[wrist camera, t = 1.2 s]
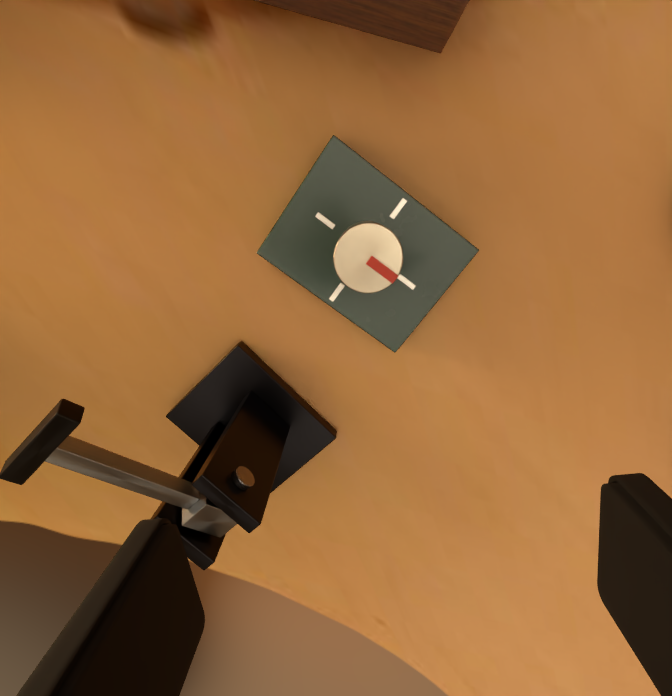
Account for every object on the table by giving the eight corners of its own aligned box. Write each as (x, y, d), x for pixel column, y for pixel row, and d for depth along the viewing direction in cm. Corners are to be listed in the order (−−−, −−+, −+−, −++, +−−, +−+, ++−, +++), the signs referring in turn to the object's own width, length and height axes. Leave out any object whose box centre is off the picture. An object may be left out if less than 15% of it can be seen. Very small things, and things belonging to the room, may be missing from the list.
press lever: (9, 450, 22) (-9, 490, 20) (65, 388, 21) (52, 423, 19) (205, 516, 29) (205, 550, 27) (256, 472, 27) (260, 504, 25)
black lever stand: (171, 410, 37) (79, 509, 25) (241, 340, 35) (179, 411, 22) (265, 491, 39) (223, 620, 27) (337, 431, 37) (327, 540, 24)
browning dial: (325, 258, 29) (319, 267, 25) (360, 207, 28) (361, 207, 24) (372, 293, 30) (374, 307, 25) (408, 245, 29) (418, 251, 24)
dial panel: (265, 249, 32) (255, 253, 29) (335, 141, 30) (333, 134, 27) (392, 341, 34) (395, 353, 31) (468, 246, 32) (480, 250, 29)
